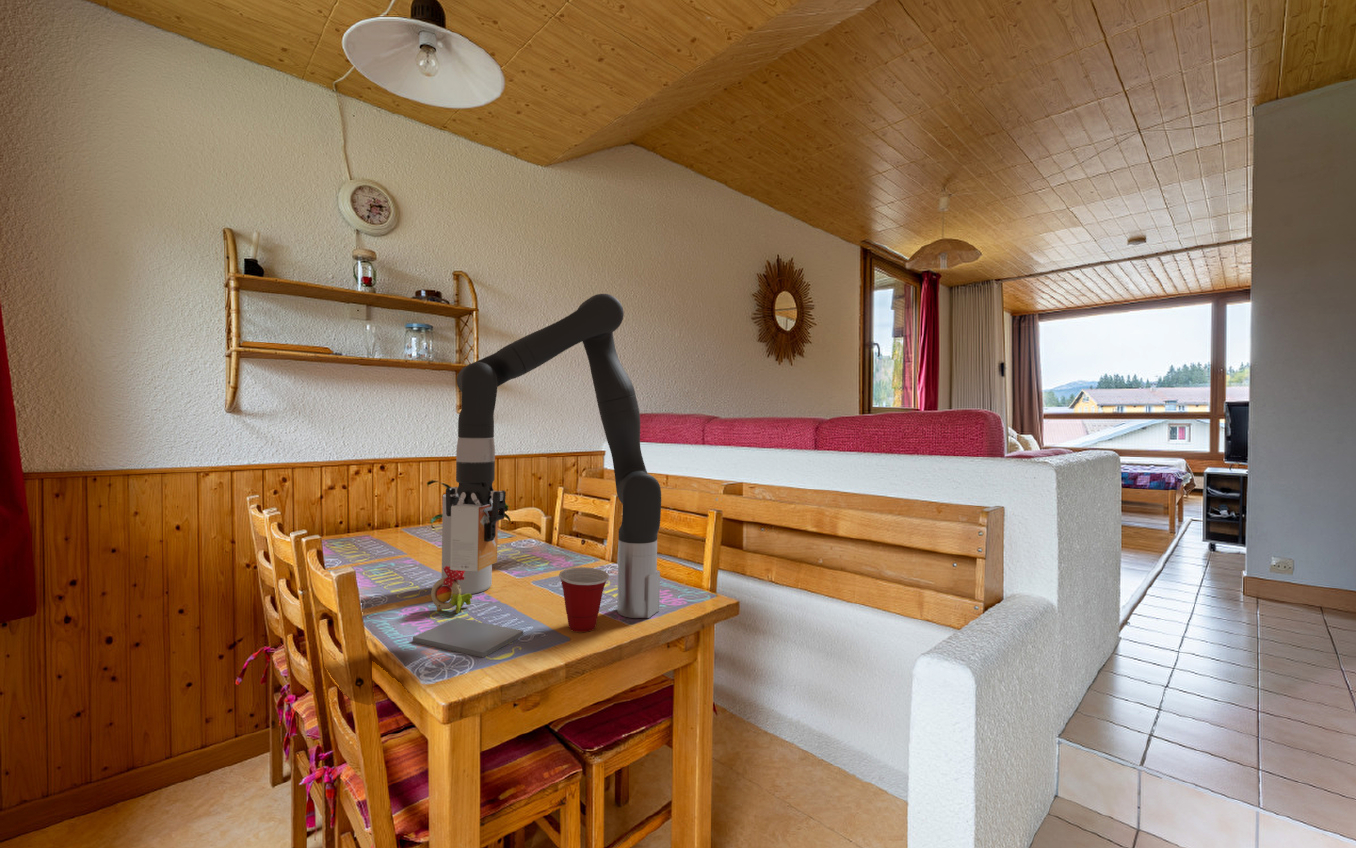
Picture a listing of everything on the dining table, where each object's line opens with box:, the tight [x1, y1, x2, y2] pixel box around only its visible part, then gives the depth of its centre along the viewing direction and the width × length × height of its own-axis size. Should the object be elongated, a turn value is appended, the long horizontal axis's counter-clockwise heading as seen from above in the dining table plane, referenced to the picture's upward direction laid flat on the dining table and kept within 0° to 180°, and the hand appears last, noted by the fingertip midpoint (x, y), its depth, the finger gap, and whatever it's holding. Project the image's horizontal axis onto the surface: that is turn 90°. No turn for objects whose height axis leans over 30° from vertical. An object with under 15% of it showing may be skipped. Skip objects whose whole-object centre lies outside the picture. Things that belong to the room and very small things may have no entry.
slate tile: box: [412, 617, 525, 658], centre depth 114 cm, size 18×12×1 cm, turn 68°
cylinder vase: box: [441, 493, 493, 595], centre depth 148 cm, size 12×12×25 cm
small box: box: [450, 502, 499, 571], centre depth 115 cm, size 8×6×13 cm
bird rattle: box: [430, 566, 473, 614], centre depth 131 cm, size 6×11×9 cm
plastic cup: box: [558, 566, 610, 633], centre depth 121 cm, size 11×11×12 cm
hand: (474, 539), depth 115 cm, fingers closed on small box, 7 cm apart
